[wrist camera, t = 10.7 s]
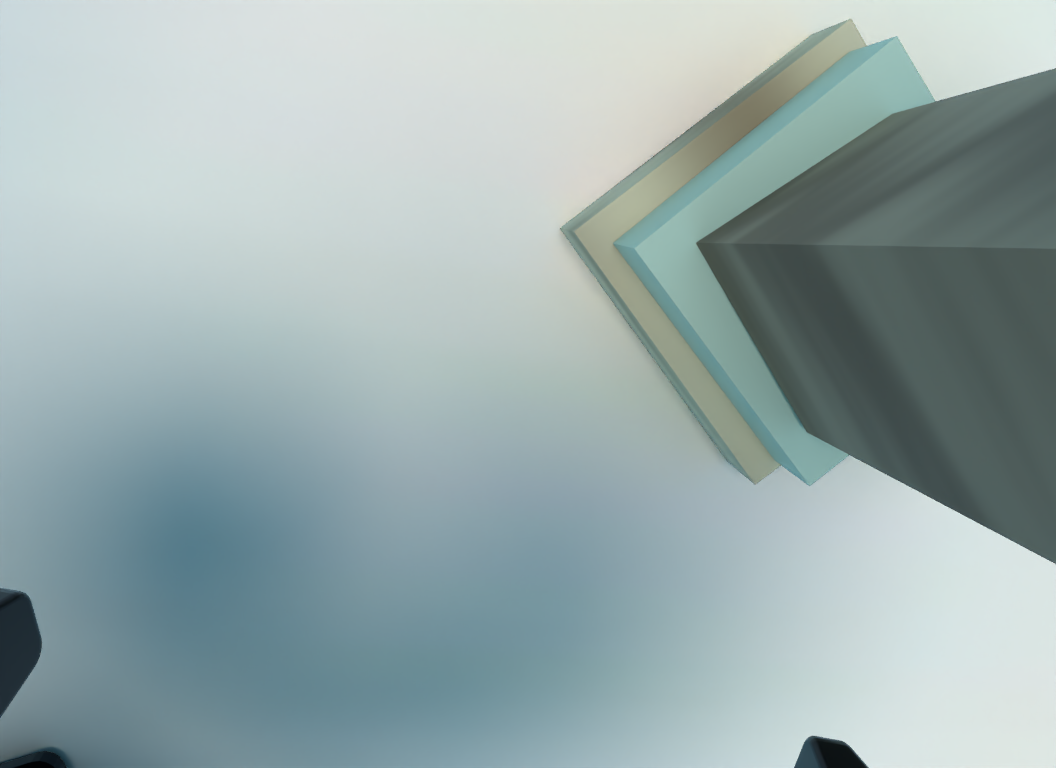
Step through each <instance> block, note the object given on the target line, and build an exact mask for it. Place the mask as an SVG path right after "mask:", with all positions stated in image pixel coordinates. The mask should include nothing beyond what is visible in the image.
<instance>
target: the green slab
mask: <svg viewBox="0 0 1056 768" xmlns="http://www.w3.org/2000/svg"><path fill="white" fill-rule="evenodd" d="M933 102H936V101H935V100H934V98H933V96H932V95H931V93H930V91H929V90H928V88H927V86H926V85H925V83H924V81H923V80H922V78H921V76H920V75H919V73H918V71H917V69H916V68H915V66H914V64H913V63H912V61H911V59H910V58H909V56H908V54H907V53H906V51H905V49H904V48H903V46H902V44H901V42H900V41H899V39H898V37H897V36H896V37H893V38H890V39H887V40H884V41H881V42H878V43H875V44H872V45H869V46H866V47H863V48H859V49H856V50H853V51H850V52H848V53H847V54H846V55H845V56H843V57H842V58H841V59H840V60H838V61H837V62H836V63H835V64H834V65H832V66H831V67H830V68H829V69H827V70H826V71H825V72H824V73H822V74H821V75H820V76H819V77H817V78H816V79H815V80H814V81H813V82H811V83H810V84H809V85H808V86H806V87H805V88H804V89H803V90H801V91H800V92H799V93H798V94H796V95H795V96H794V97H793V98H792V99H790V100H789V101H788V102H787V103H785V104H784V105H783V106H782V107H780V108H779V109H778V110H777V111H775V112H774V113H773V114H772V115H770V116H769V117H768V118H767V119H766V120H764V121H763V122H762V123H761V124H759V125H758V126H757V127H756V128H754V129H753V130H752V131H751V132H749V133H748V134H747V135H746V136H745V137H743V138H742V139H741V140H740V141H738V142H737V143H736V144H735V145H733V146H732V147H731V148H730V149H728V150H727V151H726V152H725V153H724V154H722V155H721V156H720V157H719V158H717V159H716V160H715V161H714V162H712V163H711V164H710V165H709V166H707V167H706V168H705V169H704V170H703V171H701V172H700V173H699V174H698V175H696V176H695V177H694V178H693V179H691V180H690V181H689V182H688V183H686V184H685V185H684V186H683V187H681V188H680V189H679V190H678V191H677V192H675V193H674V194H673V195H672V196H670V197H669V198H668V199H667V200H665V201H664V202H663V203H662V204H660V205H659V206H658V207H657V208H656V209H654V210H653V211H652V212H651V213H649V214H648V215H647V216H646V217H644V218H643V219H642V220H641V221H639V222H638V223H637V224H636V225H635V226H633V227H632V228H631V229H630V230H628V231H627V232H626V233H625V234H623V235H622V236H621V237H620V238H618V239H617V240H616V241H615V242H614V243H613V244H614V246H615V247H616V248H617V250H618V251H619V252H620V254H621V255H622V256H623V258H624V259H625V260H626V262H627V263H628V264H629V266H630V267H631V268H632V270H633V271H634V272H635V274H636V275H637V276H638V278H639V279H640V281H641V282H642V283H643V285H644V286H645V287H646V289H647V290H648V291H649V293H650V294H651V295H652V297H653V298H654V299H655V301H656V302H657V303H658V305H659V306H660V307H661V309H662V310H663V311H664V313H665V314H666V315H667V317H668V318H669V319H670V321H671V322H672V323H673V325H674V326H675V327H676V329H677V330H678V332H679V333H680V334H681V336H682V337H683V338H684V340H685V341H686V342H687V344H688V345H689V346H690V348H691V349H692V350H693V352H694V353H695V354H696V356H697V357H698V358H699V360H700V361H701V362H702V364H703V365H704V366H705V368H706V369H707V370H708V372H709V373H710V374H711V376H712V377H713V378H714V380H715V381H716V382H717V384H718V385H719V387H720V388H721V389H722V391H723V392H724V393H725V395H726V396H727V397H728V399H729V400H730V401H731V403H732V404H733V405H734V407H735V408H736V409H737V411H738V412H739V413H740V415H741V416H742V417H743V419H744V420H745V421H746V423H747V424H748V425H749V427H750V428H751V429H752V431H753V432H754V433H755V435H756V436H757V437H758V439H759V440H760V441H761V443H762V444H763V446H764V447H765V448H766V450H767V451H768V452H769V454H770V455H771V456H772V458H773V459H774V460H775V461H776V462H778V463H779V464H780V465H782V466H783V467H784V468H786V469H787V470H789V471H790V472H791V473H793V474H794V475H795V476H797V477H798V478H799V479H801V480H802V481H803V482H805V483H806V484H808V485H809V486H811V485H812V484H813V483H814V482H816V481H817V480H818V479H819V478H821V477H822V476H823V475H824V474H826V473H827V472H828V471H830V470H831V469H832V468H833V467H835V466H836V465H837V464H838V463H840V462H841V461H842V460H844V459H845V458H846V457H847V456H849V454H847V453H845V452H843V451H841V450H839V449H837V448H836V447H834V446H832V445H830V444H828V443H826V442H824V441H822V440H820V439H819V438H817V437H815V436H813V435H811V434H809V433H807V432H806V430H805V428H804V427H803V425H802V423H801V421H800V420H799V418H798V416H797V415H796V413H795V411H794V410H793V408H792V406H791V404H790V403H789V401H788V399H787V398H786V396H785V394H784V392H783V391H782V389H781V387H780V386H779V384H778V382H777V381H776V379H775V377H774V375H773V374H772V372H771V370H770V369H769V367H768V365H767V364H766V362H765V360H764V358H763V357H762V355H761V353H760V352H759V350H758V348H757V347H756V345H755V343H754V341H753V340H752V338H751V336H750V335H749V333H748V331H747V330H746V328H745V326H744V324H743V323H742V321H741V319H740V318H739V316H738V314H737V312H736V311H735V309H734V307H733V306H732V304H731V302H730V301H729V299H728V297H727V295H726V294H725V292H724V290H723V289H722V287H721V285H720V284H719V282H718V280H717V278H716V277H715V275H714V273H713V272H712V270H711V268H710V267H709V265H708V263H707V261H706V260H705V258H704V256H703V255H702V253H701V251H700V249H699V248H698V246H697V244H696V242H698V241H699V240H701V239H702V238H704V237H705V236H707V235H708V234H710V233H711V232H713V231H715V230H716V229H718V228H719V227H721V226H722V225H724V224H725V223H727V222H728V221H730V220H731V219H733V218H734V217H736V216H737V215H739V214H740V213H742V212H743V211H745V210H747V209H748V208H750V207H751V206H753V205H754V204H756V203H757V202H759V201H760V200H762V199H763V198H765V197H766V196H768V195H769V194H771V193H772V192H774V191H775V190H777V189H778V188H780V187H782V186H783V185H785V184H786V183H788V182H789V181H791V180H792V179H794V178H795V177H797V176H798V175H800V174H801V173H803V172H804V171H806V170H807V169H809V168H810V167H812V166H814V165H815V164H817V163H818V162H820V161H821V160H823V159H824V158H826V157H827V156H829V155H830V154H832V153H833V152H835V151H836V150H838V149H839V148H841V147H842V146H844V145H846V144H847V143H849V142H850V141H852V140H853V139H855V138H856V137H858V136H859V135H861V134H862V133H864V132H865V131H867V130H868V129H870V128H871V127H873V126H874V125H876V124H878V123H879V122H881V121H882V120H884V119H885V118H887V117H888V116H890V115H891V114H893V113H897V112H900V111H904V110H907V109H911V108H915V107H918V106H922V105H926V104H929V103H933Z"/></svg>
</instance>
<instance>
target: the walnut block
mask: <svg viewBox="0 0 1056 768" xmlns="http://www.w3.org/2000/svg"><path fill="white" fill-rule="evenodd" d="M696 244H697V246H698V248H699V249H700V251H701V253H702V255H703V256H704V258H705V260H706V261H707V263H708V265H709V267H710V268H711V270H712V272H713V273H714V275H715V277H716V278H717V280H718V282H719V284H720V285H721V287H722V289H723V290H724V292H725V294H726V295H727V297H728V299H729V301H730V302H731V304H732V306H733V307H734V309H735V311H736V312H737V314H738V316H739V318H740V319H741V321H742V323H743V324H744V326H745V328H746V330H747V331H748V333H749V335H750V336H751V338H752V340H753V341H754V343H755V345H756V347H757V348H758V350H759V352H760V353H761V355H762V357H763V358H764V360H765V362H766V364H767V365H768V367H769V369H770V370H771V372H772V374H773V375H774V377H775V379H776V381H777V382H778V384H779V386H780V387H781V389H782V391H783V392H784V394H785V396H786V398H787V399H788V401H789V403H790V404H791V406H792V408H793V410H794V411H795V413H796V415H797V416H798V418H799V420H800V421H801V423H802V425H803V427H804V428H805V430H806V432H807V433H809V434H811V435H813V436H815V437H817V438H819V439H820V440H822V441H824V442H826V443H828V444H830V445H832V446H834V447H836V448H837V449H839V450H841V451H843V452H845V453H847V454H849V455H851V456H853V457H854V458H856V459H858V460H860V461H862V462H864V463H866V464H868V465H870V466H871V467H873V468H875V469H877V470H879V471H881V472H883V473H885V474H887V475H889V476H890V477H892V478H894V479H896V480H898V481H900V482H902V483H904V484H906V485H907V486H909V487H911V488H913V489H915V490H917V491H919V492H921V493H923V494H924V495H926V496H928V497H930V498H932V499H934V500H936V501H938V502H940V503H941V504H943V505H945V506H947V507H949V508H951V509H953V510H955V511H957V512H958V513H960V514H962V515H964V516H966V517H968V518H970V519H972V520H974V521H976V522H977V523H979V524H981V525H983V526H985V527H987V528H989V529H991V530H993V531H994V532H996V533H998V534H1000V535H1002V536H1004V537H1006V538H1008V539H1010V540H1011V541H1013V542H1015V543H1017V544H1019V545H1021V546H1023V547H1025V548H1027V549H1028V550H1030V551H1032V552H1034V553H1036V554H1038V555H1040V556H1042V557H1044V558H1046V559H1047V560H1049V561H1051V562H1053V563H1055V564H1056V68H1055V69H1052V70H1048V71H1045V72H1041V73H1037V74H1034V75H1030V76H1027V77H1023V78H1019V79H1016V80H1012V81H1009V82H1005V83H1001V84H998V85H994V86H990V87H987V88H983V89H980V90H976V91H972V92H969V93H965V94H962V95H958V96H954V97H951V98H947V99H944V100H940V101H936V102H933V103H929V104H926V105H922V106H918V107H915V108H911V109H907V110H904V111H900V112H897V113H893V114H891V115H890V116H888V117H887V118H885V119H884V120H882V121H881V122H879V123H878V124H876V125H874V126H873V127H871V128H870V129H868V130H867V131H865V132H864V133H862V134H861V135H859V136H858V137H856V138H855V139H853V140H852V141H850V142H849V143H847V144H846V145H844V146H842V147H841V148H839V149H838V150H836V151H835V152H833V153H832V154H830V155H829V156H827V157H826V158H824V159H823V160H821V161H820V162H818V163H817V164H815V165H814V166H812V167H810V168H809V169H807V170H806V171H804V172H803V173H801V174H800V175H798V176H797V177H795V178H794V179H792V180H791V181H789V182H788V183H786V184H785V185H783V186H782V187H780V188H778V189H777V190H775V191H774V192H772V193H771V194H769V195H768V196H766V197H765V198H763V199H762V200H760V201H759V202H757V203H756V204H754V205H753V206H751V207H750V208H748V209H747V210H745V211H743V212H742V213H740V214H739V215H737V216H736V217H734V218H733V219H731V220H730V221H728V222H727V223H725V224H724V225H722V226H721V227H719V228H718V229H716V230H715V231H713V232H711V233H710V234H708V235H707V236H705V237H704V238H702V239H701V240H699V241H698V242H696Z"/></svg>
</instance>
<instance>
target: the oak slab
mask: <svg viewBox="0 0 1056 768" xmlns="http://www.w3.org/2000/svg"><path fill="white" fill-rule="evenodd" d="M863 47H866V44H865V42H864V40H863V39H862V37H861V35H860V33H859V32H858V30H857V28H856V26H855V25H854V23H853V21H852V19H849V20H846V21H844V22H841V23H839V24H837V25H834V26H832V27H829V28H827V29H824V30H822V31H819V32H817V33H815V34H812V35H811V36H809V37H808V38H807V39H806V40H804V41H803V42H802V43H800V44H799V45H798V46H796V47H795V48H794V49H793V50H791V51H790V52H789V53H787V54H786V55H785V56H783V57H782V58H781V59H780V60H778V61H777V62H776V63H774V64H773V65H772V66H770V67H769V68H768V69H767V70H765V71H764V72H763V73H761V74H760V75H759V76H757V77H756V78H755V79H754V80H752V81H751V82H750V83H748V84H747V85H746V86H744V87H743V88H742V89H741V90H739V91H738V92H737V93H735V94H734V95H733V96H731V97H730V98H729V99H728V100H726V101H725V102H724V103H722V104H721V105H720V106H718V107H717V108H716V109H715V110H713V111H712V112H711V113H709V114H708V115H707V116H705V117H704V118H703V119H702V120H700V121H699V122H698V123H696V124H695V125H694V126H692V127H691V128H690V129H688V130H687V131H686V132H685V133H683V134H682V135H681V136H679V137H678V138H677V139H675V140H674V141H673V142H672V143H670V144H669V145H668V146H666V147H665V148H664V149H662V150H661V151H660V152H659V153H657V154H656V155H655V156H653V157H652V158H651V159H649V160H648V161H647V162H646V163H644V164H643V165H642V166H640V167H639V168H638V169H636V170H635V171H634V172H633V173H631V174H630V175H629V176H627V177H626V178H625V179H623V180H622V181H621V182H620V183H618V184H617V185H616V186H614V187H613V188H612V189H610V190H609V191H608V192H607V193H605V194H604V195H603V196H601V197H600V198H599V199H597V200H596V201H595V202H594V203H592V204H591V205H590V206H588V207H587V208H586V209H584V210H583V211H582V212H581V213H579V214H578V215H577V216H575V217H574V218H573V219H571V220H570V221H569V222H568V223H566V224H565V225H564V226H562V227H561V228H560V229H561V231H562V232H563V233H564V235H565V236H566V238H567V239H568V240H569V242H570V243H571V245H572V246H573V247H574V249H575V250H576V252H577V253H578V254H579V256H580V257H581V258H582V260H583V261H584V263H585V264H586V265H587V267H588V268H589V270H590V271H591V272H592V274H593V275H594V277H595V278H596V279H597V281H598V282H599V283H600V285H601V286H602V288H603V289H604V290H605V292H606V293H607V295H608V296H609V297H610V299H611V300H612V302H613V303H614V304H615V306H616V307H617V309H618V310H619V311H620V313H621V314H622V315H623V317H624V318H625V320H626V321H627V322H628V324H629V325H630V327H631V328H632V329H633V331H634V332H635V334H636V335H637V336H638V338H639V339H640V340H641V342H642V343H643V345H644V346H645V347H646V349H647V350H648V352H649V353H650V354H651V356H652V357H653V359H654V360H655V361H656V363H657V364H658V365H659V367H660V368H661V370H662V371H663V372H664V374H665V375H666V377H667V378H668V379H669V381H670V382H671V384H672V385H673V386H674V388H675V389H676V391H677V392H678V393H679V395H680V396H681V397H682V399H683V400H684V402H685V403H686V404H687V406H688V407H689V409H690V410H691V411H692V413H693V414H694V416H695V417H696V418H697V420H698V421H699V422H700V424H701V425H702V427H703V428H704V429H705V431H706V432H707V434H708V435H709V436H710V438H711V439H712V441H713V442H714V443H715V445H716V446H717V447H718V449H719V450H720V452H721V453H722V454H723V456H724V457H725V459H726V460H727V461H728V462H729V463H730V464H731V465H732V466H734V467H735V468H736V469H737V470H738V471H740V472H741V473H742V474H743V475H744V476H745V477H747V478H748V479H749V480H750V481H751V482H753V483H754V484H757V483H758V482H759V481H761V480H762V479H763V478H765V477H766V476H767V475H769V474H770V473H771V472H773V471H774V470H775V469H777V468H778V467H779V466H781V465H780V464H779V463H778V462H776V461H775V460H774V459H773V458H772V456H771V455H770V454H769V452H768V451H767V450H766V448H765V447H764V446H763V444H762V443H761V441H760V440H759V439H758V437H757V436H756V435H755V433H754V432H753V431H752V429H751V428H750V427H749V425H748V424H747V423H746V421H745V420H744V419H743V417H742V416H741V415H740V413H739V412H738V411H737V409H736V408H735V407H734V405H733V404H732V403H731V401H730V400H729V399H728V397H727V396H726V395H725V393H724V392H723V391H722V389H721V388H720V387H719V385H718V384H717V382H716V381H715V380H714V378H713V377H712V376H711V374H710V373H709V372H708V370H707V369H706V368H705V366H704V365H703V364H702V362H701V361H700V360H699V358H698V357H697V356H696V354H695V353H694V352H693V350H692V349H691V348H690V346H689V345H688V344H687V342H686V341H685V340H684V338H683V337H682V336H681V334H680V333H679V332H678V330H677V329H676V327H675V326H674V325H673V323H672V322H671V321H670V319H669V318H668V317H667V315H666V314H665V313H664V311H663V310H662V309H661V307H660V306H659V305H658V303H657V302H656V301H655V299H654V298H653V297H652V295H651V294H650V293H649V291H648V290H647V289H646V287H645V286H644V285H643V283H642V282H641V281H640V279H639V278H638V276H637V275H636V274H635V272H634V271H633V270H632V268H631V267H630V266H629V264H628V263H627V262H626V260H625V259H624V258H623V256H622V255H621V254H620V252H619V251H618V250H617V248H616V247H615V246H614V244H613V243H614V242H615V241H616V240H617V239H618V238H620V237H621V236H622V235H623V234H625V233H626V232H627V231H628V230H630V229H631V228H632V227H633V226H635V225H636V224H637V223H638V222H639V221H641V220H642V219H643V218H644V217H646V216H647V215H648V214H649V213H651V212H652V211H653V210H654V209H656V208H657V207H658V206H659V205H660V204H662V203H663V202H664V201H665V200H667V199H668V198H669V197H670V196H672V195H673V194H674V193H675V192H677V191H678V190H679V189H680V188H681V187H683V186H684V185H685V184H686V183H688V182H689V181H690V180H691V179H693V178H694V177H695V176H696V175H698V174H699V173H700V172H701V171H703V170H704V169H705V168H706V167H707V166H709V165H710V164H711V163H712V162H714V161H715V160H716V159H717V158H719V157H720V156H721V155H722V154H724V153H725V152H726V151H727V150H728V149H730V148H731V147H732V146H733V145H735V144H736V143H737V142H738V141H740V140H741V139H742V138H743V137H745V136H746V135H747V134H748V133H749V132H751V131H752V130H753V129H754V128H756V127H757V126H758V125H759V124H761V123H762V122H763V121H764V120H766V119H767V118H768V117H769V116H770V115H772V114H773V113H774V112H775V111H777V110H778V109H779V108H780V107H782V106H783V105H784V104H785V103H787V102H788V101H789V100H790V99H792V98H793V97H794V96H795V95H796V94H798V93H799V92H800V91H801V90H803V89H804V88H805V87H806V86H808V85H809V84H810V83H811V82H813V81H814V80H815V79H816V78H817V77H819V76H820V75H821V74H822V73H824V72H825V71H826V70H827V69H829V68H830V67H831V66H832V65H834V64H835V63H836V62H837V61H838V60H840V59H841V58H842V57H843V56H845V55H846V54H847V53H848V52H850V51H853V50H856V49H859V48H863Z"/></svg>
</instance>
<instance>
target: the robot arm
mask: <svg viewBox="0 0 1056 768" xmlns="http://www.w3.org/2000/svg"><path fill="white" fill-rule="evenodd" d="M41 648H42V640H41V635H40V631H39V628H38V624H37V621H36V617H35V613H34V610H33V606H32V602H31V600H30V598H29V596H28V595H27V594H26V593H23V592H21V591H16V590H10V589H4V588H0V718H1V716H2V715H3V713H4V712H5V710H6V709H7V707H8V706H9V704H10V703H11V701H12V700H13V698H14V697H15V695H16V694H17V692H18V691H19V689H20V688H21V686H22V685H23V684H24V682H25V681H26V679H27V678H28V676H29V675H30V673H31V672H32V670H33V669H34V667H35V665H36V663H37V661H38V659H39V657H40V653H41ZM0 768H66V766H65V763H64V762H63V760H62V759H61V758H60V756H58V755H56V754H55V753H53V752H47V751H43V752H37V753H34V754H30V755H27V756H24V757H21V758H18V759H15V760H12V761H8V762H5V763H2V764H0ZM794 768H868V766H867V765H866V764H865V763H864V762H863V761H862V760H861V758H860V757H859V756H858V755H857V754H856V753H855V752H854V750H853V749H852V748H851V747H850V746H849V745H847V744H846V743H845V742H843V741H839V740H834V739H829V738H823V737H818V736H810V737H808V738H807V739H806V741H805V742H804V744H803V747H802V749H801V752H800V754H799V757H798V759H797V762H796V764H795V767H794Z"/></svg>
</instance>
